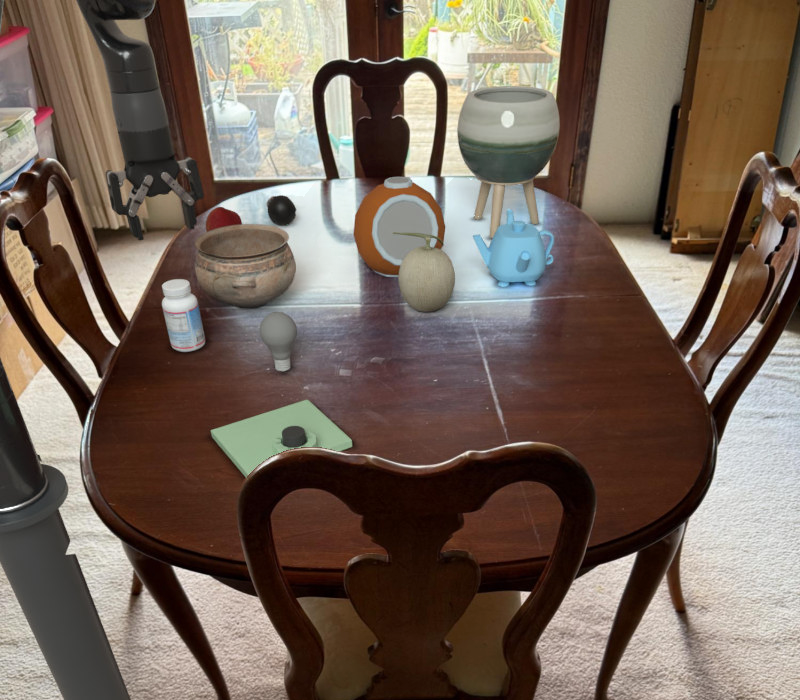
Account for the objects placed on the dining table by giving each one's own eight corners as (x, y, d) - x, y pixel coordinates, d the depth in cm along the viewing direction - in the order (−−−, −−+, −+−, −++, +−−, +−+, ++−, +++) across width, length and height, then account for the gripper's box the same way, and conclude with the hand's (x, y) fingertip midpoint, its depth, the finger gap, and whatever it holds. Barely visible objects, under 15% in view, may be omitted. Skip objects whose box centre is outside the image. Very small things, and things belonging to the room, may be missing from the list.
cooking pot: (209, 280, 162) (198, 220, 154) (300, 275, 163) (294, 215, 155) (195, 332, 143) (181, 266, 135) (298, 327, 144) (291, 261, 136)
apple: (241, 249, 176) (235, 212, 171) (205, 249, 176) (199, 213, 171) (246, 237, 182) (241, 201, 177) (212, 238, 182) (206, 202, 177)
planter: (454, 212, 193) (457, 84, 175) (544, 211, 192) (556, 83, 174) (455, 243, 176) (459, 106, 158) (554, 243, 175) (569, 104, 157)
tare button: (289, 451, 107) (287, 440, 106) (279, 440, 109) (277, 430, 108) (310, 444, 109) (308, 433, 108) (299, 433, 111) (298, 423, 110)
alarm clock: (362, 286, 158) (357, 197, 147) (349, 255, 171) (344, 171, 160) (453, 277, 161) (456, 189, 150) (434, 248, 174) (435, 165, 163)
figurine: (265, 193, 182) (269, 181, 197) (262, 223, 185) (266, 209, 200) (298, 200, 183) (299, 188, 198) (294, 230, 186) (295, 215, 202)
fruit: (466, 303, 151) (469, 223, 141) (434, 324, 143) (435, 243, 134) (421, 291, 155) (421, 214, 146) (388, 312, 148) (385, 232, 139)
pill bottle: (195, 334, 142) (183, 274, 135) (212, 346, 139) (200, 284, 131) (165, 344, 139) (151, 283, 132) (181, 356, 136) (167, 294, 129)
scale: (253, 487, 106) (250, 468, 104) (211, 437, 115) (208, 419, 113) (356, 450, 112) (354, 432, 110) (308, 405, 122) (306, 388, 120)
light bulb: (296, 379, 128) (289, 322, 122) (261, 377, 129) (252, 320, 123) (305, 362, 133) (299, 306, 127) (271, 360, 134) (263, 304, 127)
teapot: (463, 278, 160) (465, 222, 153) (505, 260, 167) (509, 205, 160) (522, 299, 152) (527, 240, 144) (564, 279, 159) (570, 222, 152)
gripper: (179, 112, 121) (198, 219, 132) (87, 125, 116) (115, 236, 126) (196, 120, 116) (215, 231, 127) (101, 135, 111) (129, 249, 121)
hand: (165, 233), depth 126 cm, fingers open, 8 cm apart
